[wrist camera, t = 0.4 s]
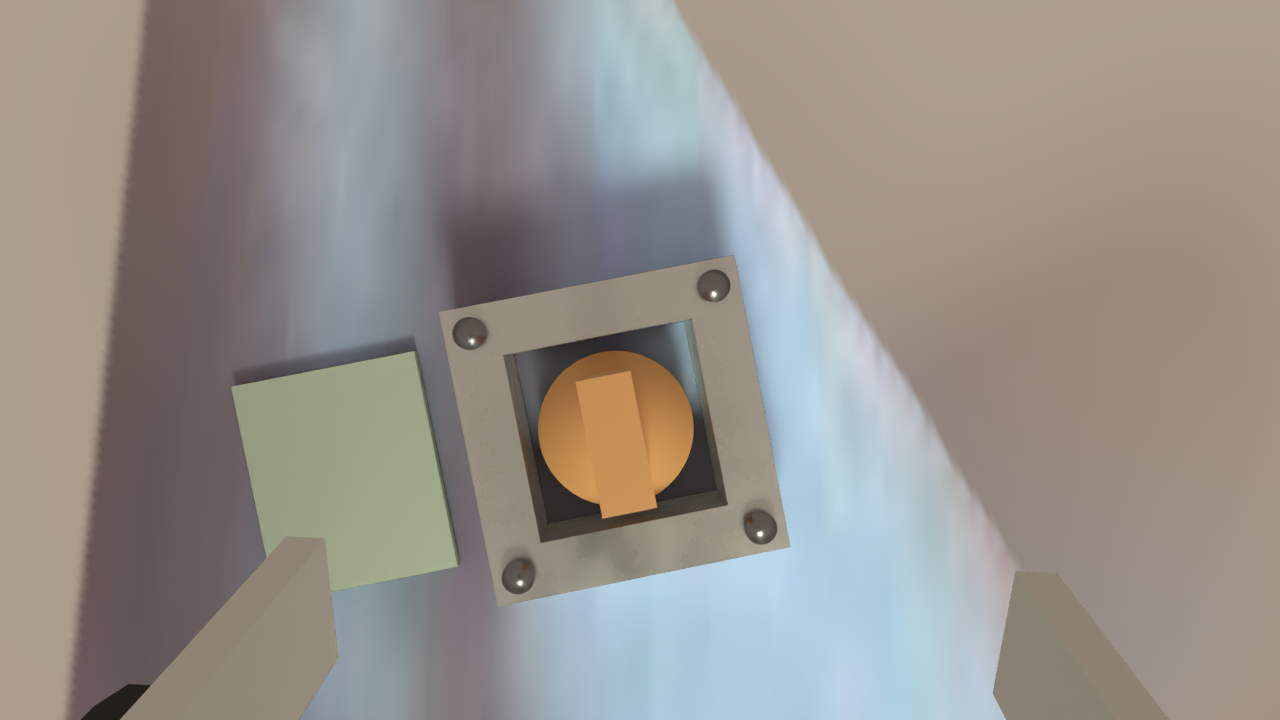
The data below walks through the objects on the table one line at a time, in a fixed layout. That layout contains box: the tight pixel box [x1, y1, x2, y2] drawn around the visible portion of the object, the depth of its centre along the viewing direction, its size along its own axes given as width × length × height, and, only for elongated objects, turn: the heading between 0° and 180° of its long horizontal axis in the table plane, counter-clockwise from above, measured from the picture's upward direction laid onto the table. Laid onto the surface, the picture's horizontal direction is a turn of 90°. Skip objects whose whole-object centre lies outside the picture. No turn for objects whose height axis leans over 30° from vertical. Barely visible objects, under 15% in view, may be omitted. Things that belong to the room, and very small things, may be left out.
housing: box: [439, 255, 790, 607], centre depth 43 cm, size 15×15×5 cm
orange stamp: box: [538, 350, 694, 519], centre depth 40 cm, size 8×8×10 cm
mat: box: [231, 351, 460, 592], centre depth 45 cm, size 12×10×1 cm
